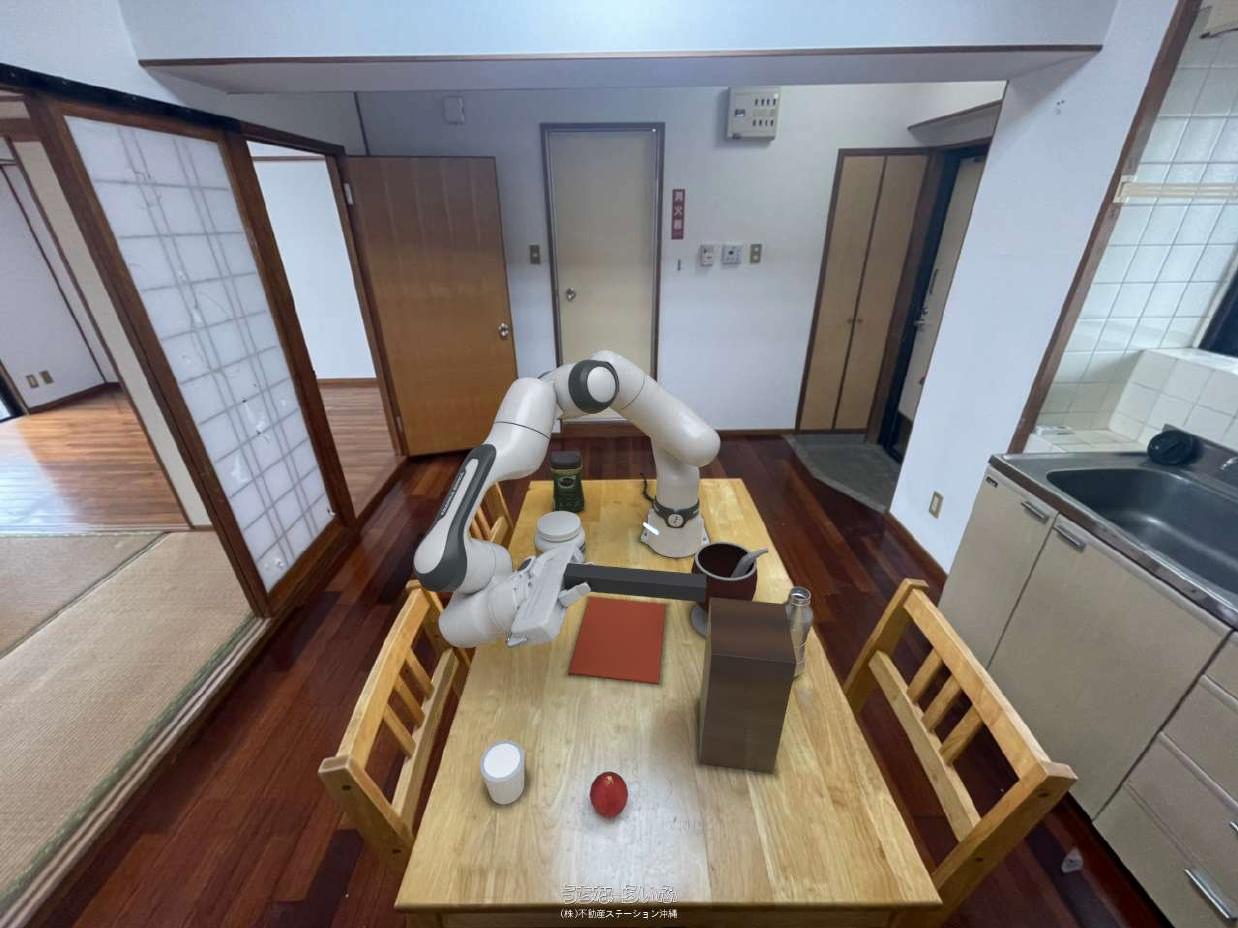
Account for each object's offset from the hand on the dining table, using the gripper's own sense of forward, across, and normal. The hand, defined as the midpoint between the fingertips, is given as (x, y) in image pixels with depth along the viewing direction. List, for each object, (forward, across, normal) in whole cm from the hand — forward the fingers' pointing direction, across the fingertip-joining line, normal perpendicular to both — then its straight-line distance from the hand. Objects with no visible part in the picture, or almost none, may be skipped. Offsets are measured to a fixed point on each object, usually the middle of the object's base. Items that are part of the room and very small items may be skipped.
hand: (592, 575), depth 81 cm
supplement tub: (-29, +35, +20) cm, 50 cm away
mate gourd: (+5, +26, +40) cm, 48 cm away
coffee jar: (-34, +68, +17) cm, 78 cm away
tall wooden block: (+6, -2, +40) cm, 40 cm away
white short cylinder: (-26, -16, +22) cm, 38 cm away
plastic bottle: (+15, +14, +46) cm, 50 cm away
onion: (-12, -17, +30) cm, 37 cm away
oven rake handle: (+5, 0, +5) cm, 7 cm away
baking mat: (-14, +18, +29) cm, 37 cm away
